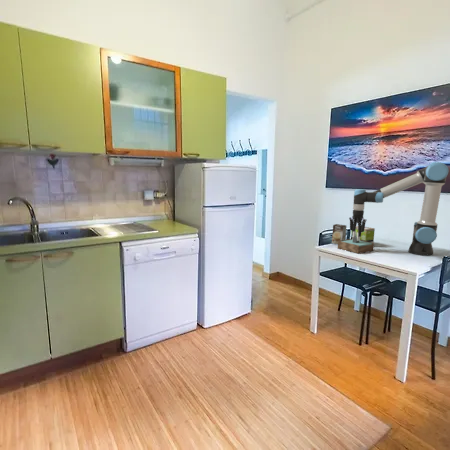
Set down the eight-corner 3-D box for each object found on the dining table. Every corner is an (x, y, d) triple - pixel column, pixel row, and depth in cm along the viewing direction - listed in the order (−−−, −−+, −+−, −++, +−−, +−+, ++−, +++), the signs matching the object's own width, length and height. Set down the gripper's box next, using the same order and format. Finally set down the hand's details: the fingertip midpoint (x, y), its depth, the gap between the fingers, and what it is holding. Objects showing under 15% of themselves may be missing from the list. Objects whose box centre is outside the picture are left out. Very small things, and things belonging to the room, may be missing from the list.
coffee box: (331, 243, 239) (332, 224, 237) (335, 242, 243) (336, 223, 241) (341, 245, 232) (343, 226, 230) (345, 244, 236) (346, 225, 234)
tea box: (349, 243, 240) (351, 226, 238) (358, 242, 244) (359, 225, 242) (365, 247, 227) (366, 228, 224) (373, 245, 231) (375, 228, 228)
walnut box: (373, 250, 214) (373, 242, 213) (357, 253, 206) (358, 245, 205) (352, 245, 230) (353, 238, 229) (337, 248, 221) (338, 240, 220)
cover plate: (372, 244, 214) (372, 238, 213) (358, 246, 206) (358, 240, 205) (353, 240, 228) (354, 234, 227) (339, 242, 220) (340, 236, 219)
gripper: (346, 209, 218) (343, 238, 222) (365, 211, 204) (362, 242, 208) (352, 208, 221) (350, 237, 225) (371, 210, 208) (368, 241, 211)
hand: (356, 240), depth 217 cm, fingers closed on cover plate, 3 cm apart
